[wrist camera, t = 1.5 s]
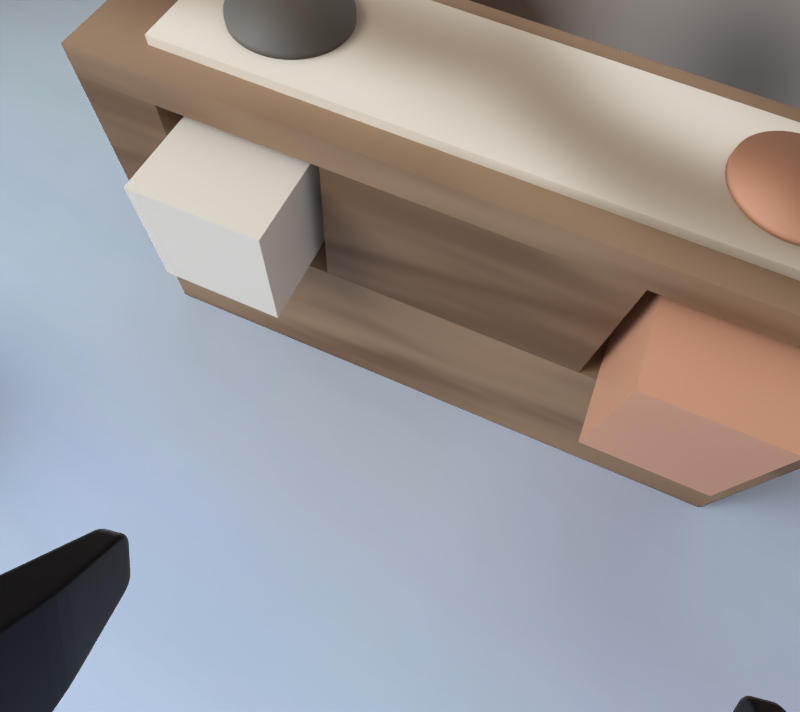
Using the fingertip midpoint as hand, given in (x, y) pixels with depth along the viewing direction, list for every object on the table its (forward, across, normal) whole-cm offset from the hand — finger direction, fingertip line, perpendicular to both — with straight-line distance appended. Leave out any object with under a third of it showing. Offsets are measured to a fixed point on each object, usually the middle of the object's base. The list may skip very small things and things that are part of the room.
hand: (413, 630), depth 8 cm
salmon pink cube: (+11, -6, +1) cm, 13 cm away
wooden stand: (+19, +1, +3) cm, 19 cm away
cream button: (+12, +8, -1) cm, 14 cm away
